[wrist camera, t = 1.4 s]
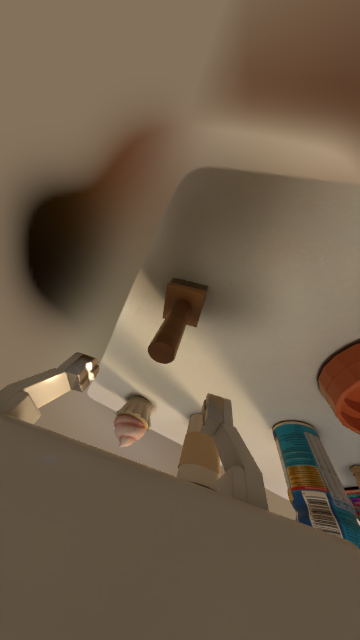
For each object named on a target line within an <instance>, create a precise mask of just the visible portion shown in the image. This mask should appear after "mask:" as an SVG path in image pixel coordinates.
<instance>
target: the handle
mask: <svg viewBox="0 0 360 640" xmlns="http://www.w3.org/2000/svg"><path fill="white" fill-rule="evenodd" d="M350 469H351V472H352V474H353V475H355V480H356V482H357V484H358V487H359V489H360V466H357V465H354V466H353V467H351V468H350Z"/></svg>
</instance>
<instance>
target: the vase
mask: <svg viewBox="0 0 360 640" xmlns="http://www.w3.org/2000/svg"><path fill="white" fill-rule="evenodd" d="M345 492H346V494H347V496H348V497H349V499H350V500H351V502H352V504H353V506H354V508H355V511H356V518H357V519H358V520H359V521H360V489H355V490H345Z"/></svg>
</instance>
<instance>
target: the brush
mask: <svg viewBox="0 0 360 640" xmlns="http://www.w3.org/2000/svg"><path fill="white" fill-rule="evenodd" d="M207 287H208V286H205V285H201V284H197V283H193V282H189V281H185V280H181V279H177V278H173V279H172V281H171V282H170V283H169V284H168V285H167V291H166V298H165V305H164V312H163V318H165V320H164V322H163V323H162V325H161V327H160V328H159V330H158V332H157V333H156V335H155V337H154V338H153V340H152V342H151V343H150V345H149V347H148V353H149V355H150V357H151V358H152V359H153V360H155V361H156V362H159V363H163V364H167V363H170V362H172V361H173V360H174V359H175V356H176V353H177V350H178V347H179V344H180V342H181V339H182V336H183V333H184V330H185V327H186V325H190V326H193V327H197V324H198V320H199V317H200V314H201V310H202V307H203V303H204V300H205V297H206V292H207Z"/></svg>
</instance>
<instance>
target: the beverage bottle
mask: <svg viewBox="0 0 360 640" xmlns="http://www.w3.org/2000/svg"><path fill="white" fill-rule="evenodd" d="M273 435H274V439H275V442H276V445H277V449H278V452H279V456H280V460H281V464H282V468H283V471H284V475H285V479H286V483H287V487H288V496H289V499H290V502H291V504H292V506H293V508H294V509H295V510H296V521H298V522H300V523H303V524H306V525H308V526H311V527H314V528H317V529H319V530H322V531H325V532H328V533H330V534H333V535H336V536H338V537H341V538H344V539H346V540H348V541H350V542H352V543H353V544H354V545H356V546H357V547H358V548H359V549H360V526H359V524H358V522H357V519H356V511H355V508H354V506H353V504H352V502H351V500H350V499H349V497H348V496H347V494H346V492H345V490H344V488H343V486H342V484H341V482H340V480H339V478H338V476H337V473H336V471H335V469H334V467H333V465H332V463H331V461H330V459H329V457H328V455H327V453H326V451H325V449H324V447H323V445H322V443H321V441H320V438H319V436H318V434H317V432H316V430H315V429H314V428H313V427H311V426H309V425H307V424H305V423H302V422H296V421H287V422H282V423H279V424H277V425H276V426H275V427H274V428H273Z"/></svg>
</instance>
